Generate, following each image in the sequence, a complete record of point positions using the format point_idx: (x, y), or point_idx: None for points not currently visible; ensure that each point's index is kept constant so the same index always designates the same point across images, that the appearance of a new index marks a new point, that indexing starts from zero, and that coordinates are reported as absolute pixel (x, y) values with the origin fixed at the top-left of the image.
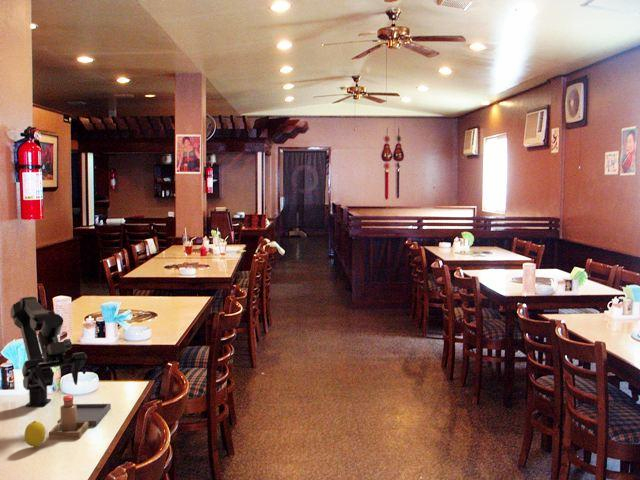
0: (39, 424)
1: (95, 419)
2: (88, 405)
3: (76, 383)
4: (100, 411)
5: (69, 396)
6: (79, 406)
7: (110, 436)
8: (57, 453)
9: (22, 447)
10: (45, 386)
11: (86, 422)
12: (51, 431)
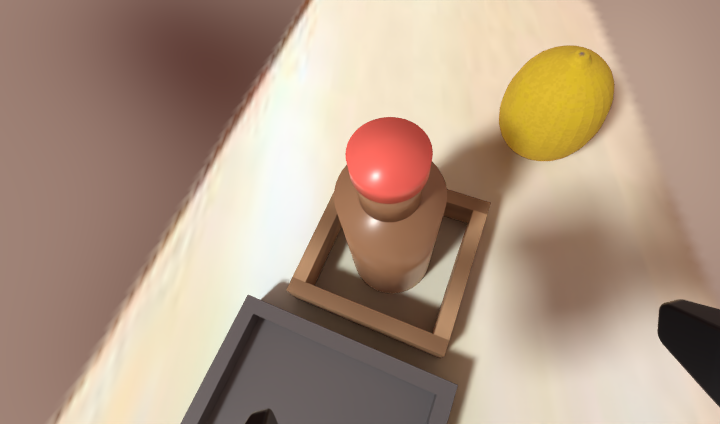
0: (545, 56)
1: (246, 317)
2: None
3: (263, 411)
4: None
5: (378, 158)
6: None
7: (234, 159)
8: (436, 76)
9: (587, 168)
10: (705, 312)
11: (299, 277)
12: (477, 216)
